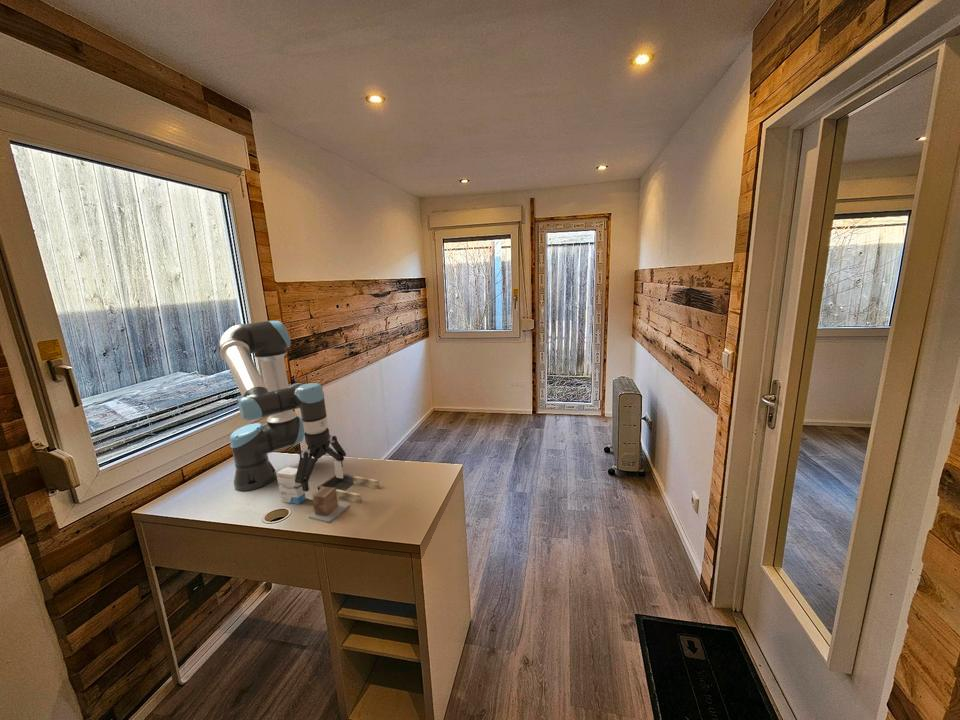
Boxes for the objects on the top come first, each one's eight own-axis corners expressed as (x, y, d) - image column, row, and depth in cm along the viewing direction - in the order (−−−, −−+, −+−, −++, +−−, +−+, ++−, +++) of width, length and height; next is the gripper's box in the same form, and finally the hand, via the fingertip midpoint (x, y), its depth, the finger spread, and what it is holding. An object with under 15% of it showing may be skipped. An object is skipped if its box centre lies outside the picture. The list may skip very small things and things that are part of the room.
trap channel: (318, 494, 142) (317, 486, 142) (339, 479, 152) (338, 472, 152) (360, 503, 135) (359, 495, 134) (379, 487, 144) (378, 480, 144)
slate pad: (308, 517, 128) (308, 516, 128) (330, 501, 137) (330, 500, 137) (328, 523, 124) (328, 521, 124) (350, 506, 133) (349, 504, 133)
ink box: (309, 497, 141) (304, 468, 138) (299, 504, 136) (293, 475, 134) (291, 494, 144) (286, 466, 141) (280, 501, 139) (275, 472, 137)
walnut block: (315, 514, 129) (311, 496, 127) (326, 504, 134) (323, 486, 133) (327, 515, 127) (324, 497, 126) (338, 505, 133) (335, 487, 132)
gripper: (293, 447, 112) (304, 510, 117) (351, 417, 134) (358, 471, 139) (275, 444, 115) (286, 506, 119) (335, 415, 137) (342, 468, 142)
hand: (325, 487), depth 129 cm, fingers open, 13 cm apart
